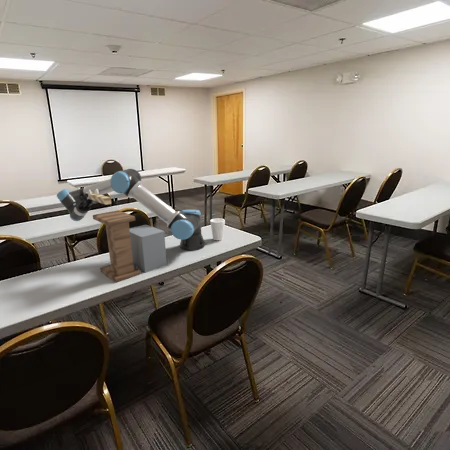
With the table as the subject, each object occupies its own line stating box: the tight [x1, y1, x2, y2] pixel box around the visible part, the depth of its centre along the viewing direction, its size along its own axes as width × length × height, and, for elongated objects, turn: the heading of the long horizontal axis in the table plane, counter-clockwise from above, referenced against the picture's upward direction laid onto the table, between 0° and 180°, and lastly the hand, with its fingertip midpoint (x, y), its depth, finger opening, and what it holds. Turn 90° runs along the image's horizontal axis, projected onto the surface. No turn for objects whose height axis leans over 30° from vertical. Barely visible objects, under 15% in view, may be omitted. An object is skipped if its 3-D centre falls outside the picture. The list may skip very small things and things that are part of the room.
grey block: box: [129, 224, 168, 273], centre depth 169 cm, size 18×13×19 cm
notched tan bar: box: [85, 192, 112, 206], centre depth 162 cm, size 24×3×3 cm, turn 44°
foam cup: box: [209, 217, 226, 241], centre depth 206 cm, size 10×9×13 cm
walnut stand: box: [92, 209, 142, 283], centre depth 157 cm, size 18×13×30 cm
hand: (94, 191), depth 164 cm, fingers closed on notched tan bar, 3 cm apart
